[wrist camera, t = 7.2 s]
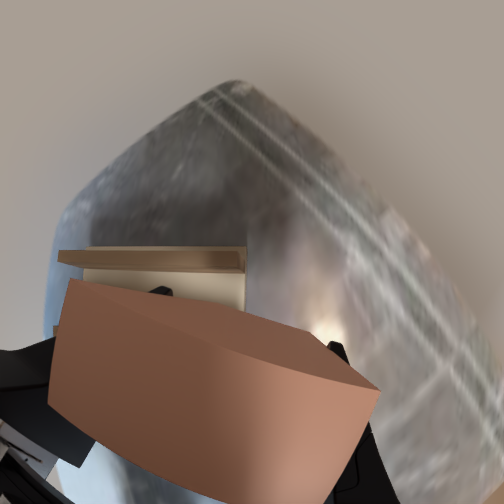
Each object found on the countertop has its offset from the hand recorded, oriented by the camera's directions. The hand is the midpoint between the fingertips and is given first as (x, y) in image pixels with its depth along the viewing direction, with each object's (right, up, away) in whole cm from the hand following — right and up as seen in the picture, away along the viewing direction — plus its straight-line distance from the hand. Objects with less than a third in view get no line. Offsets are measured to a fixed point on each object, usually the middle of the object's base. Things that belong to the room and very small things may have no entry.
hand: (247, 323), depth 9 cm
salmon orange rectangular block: (0, -3, +6) cm, 7 cm away
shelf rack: (-8, -2, +14) cm, 17 cm away
